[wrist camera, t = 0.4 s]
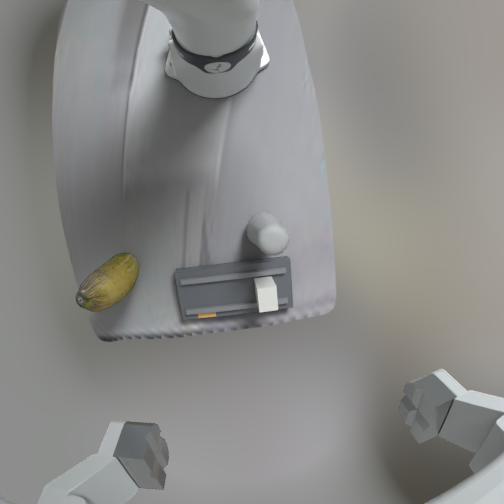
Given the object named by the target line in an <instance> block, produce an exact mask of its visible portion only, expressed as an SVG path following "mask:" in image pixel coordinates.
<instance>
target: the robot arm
mask: <svg viewBox="0 0 504 504" xmlns="http://www.w3.org/2000/svg"><path fill="white" fill-rule="evenodd" d="M139 1H141V2H144V3H146V4H149V5H151V6H153V7H155V8H156V9H158V10H160V11H161V12H162V13H163V14H165V16H166V17H167V19H168V21H169V23H170V28H169V34H170V35H172V40H169V42H168V46H169V47H170V48H169V53H168V57H167V62H166V67H165V72H166V74H167V75H168V76H170V77H172V78H174V79H177V80H179V81H180V82H181V83H182V84H183V85H184V86H185V87H186V88H187V89H188V90H190V91H191V92H193V93H195V94H197V95H199V96H203V97H208V98H222V97H227V96H231V95H233V94H236V93H238V92H240V91H241V90H243V89H244V88H245V87H247V86H248V85H249V84H250V82H251V81H252V80H253V78H254V77H255V75H256V74H257V72H258V71H260V70H262V69H263V68H265V67H266V66H267V65H268V64H269V62H270V58H269V55H268V53H267V50H266V48H265V45H264V43H263V41H262V38H261V36H260V33H259V31H258V24H257V20H256V19H257V14H258V9H259V4H260V0H139ZM262 55H263V56H262ZM171 64H172V66H171ZM403 391H404V393H405V394H406V395H405V396H404V397H403V398H402V400H401V402H400V406H399V410H400V416H401V418H402V420H403V422H404V423H405V424H407V425H409V426H411V433H412V434H413V436H414V437H415V439H416V440H417V442H418V443H422V442H423V441H426V440H428V439H430V438H432V437H435V436H437V435H438V436H440V437H441V438H443V439H445V440H448V441H450V442H452V443H454V444H456V445H458V446H460V447H463V448H465V449H467V450H469V451H472V452H474V453H476V455H475V457H474V458H473V459H472V461H471V462H470V465H469V466H470V468H471V469H472V470H473V472H474V474H473V475H472V476H470V477H469V478H467V479H466V480H464V481H463V482H461V483H459V484H458V485H456V486H455V487H453V488H451V489H450V490H448V491H446V492H445V493H443V494H441V495H439V496H438V497H436V498H434V499H432V500H430V501H428V502H426V503H425V504H504V398H502V397H497V396H492V395H489V394H484V393H480V392H476V391H472V390H470V391H467V390H466V389H464V388H463V387H462V386H461V385H460V384H459V383H458V382H457V381H456V380H455V379H454V378H453V377H451V375H449V374H448V373H447V372H446V371H445V370H443V369H439V370H437V371H434V372H432V373H430V374H427V375H425V376H422V377H420V378H417V379H415V380H412V381H409V382H407V384H406V385H405V387H404V390H403ZM160 432H161V431H160V428H159V426H158V424H155V423H141V422H129V421H117V420H113V421H112V422H111V423H110V425H109V427H108V429H107V432H106V434H105V437H104V439H103V441H102V444H101V446H100V449H99V451H98V454H92V455H91V456H90V457H88V458H87V459H85V460H84V461H82V462H81V463H79V464H78V465H76V466H75V467H73V468H72V469H70V470H69V471H67V472H65V473H64V474H62V475H61V476H59V477H57V478H56V479H54V480H53V481H51V482H50V483H48V484H46V486H45V488H44V490H43V492H42V494H41V497H40V499H39V501H38V503H37V504H126V503H127V502H128V501H129V500H130V499H131V498H132V496H134V494H135V493H136V492H137V491H138V490H139V488H145V489H159V490H163V489H164V485H165V479H166V473H165V472H164V470H163V468H164V467H165V466H166V465H168V460H169V454H168V453H169V452H168V447H167V443H166V441H165V439H164V438H162V437H161V436H160ZM0 504H16V503H14V502H12V501H10V500H8V499H6V498H5V497H3V496H1V495H0Z"/></svg>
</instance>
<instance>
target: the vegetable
mask: <svg viewBox="0 0 504 504" xmlns="http://www.w3.org/2000/svg"><path fill="white" fill-rule="evenodd" d="M138 272H139V264H138V261H137V260H136V258H135V257H133V256H132V255H131V254H129V253H120V254H117V255H115V256H114V257H112V258H111V259H110V260H109V261H107V262H106V263H105V264H103V265H102V266H101V267H99V268H98V269H96V270H95V271H94V272H93V273H92V274H90V275H89V276H88V277H87V278H86V279H85V280H84V281H83V283H82V284H81V286H80V288H79V291H78V292H77V294H76V302H77V304H78V305H79V306H80V307H82V308H85V309H87V310H89V311H94V312H97V311H102V310H105V309H107V308H109V307H111V306H113V305H114V304H116V303H118V302H119V301H120V300H122V299H123V298H124V297H125V296H126V295H127V294H128V293H129V292H130V290H131V289H132V287H133V286H134V284H135V282H136V279H137V276H138Z"/></svg>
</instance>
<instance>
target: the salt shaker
mask: <svg viewBox="0 0 504 504" xmlns="http://www.w3.org/2000/svg"><path fill="white" fill-rule="evenodd" d="M247 236H248V238H249V239H250V241H251V242H252V243H253V244H255V245H256V246H258V247H259V248H260V250H261V251H262V252H264V253H266V254H267V255H278V254H280V253H282V252H283V251H284V250H285V249H286V248H287V245H288V242H289V239H288V233H287V232H286V230H285V229H284V227H282V226H281V225H280V222H279V221H278V219H277V218H276V217H275V216H273V215H272V214H270V213H259V214H257V215H255V216H253V217H252V218H251V220H250V221H249V222H248V226H247Z"/></svg>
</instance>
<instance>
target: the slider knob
mask: <svg viewBox="0 0 504 504" xmlns="http://www.w3.org/2000/svg"><path fill="white" fill-rule="evenodd" d="M254 283H255V293H256V301H257V305H258V309H259V313H260V312H267V311H275V310H278V300H277V287H276V284H275V282H274V280H273V278H272V276H269V277H261V278H254Z"/></svg>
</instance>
